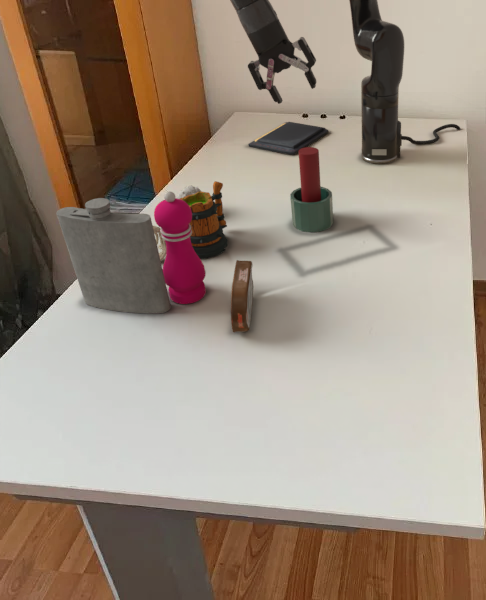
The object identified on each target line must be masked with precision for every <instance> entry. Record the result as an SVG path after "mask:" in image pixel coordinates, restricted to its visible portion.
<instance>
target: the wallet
mask: <svg viewBox="0 0 486 600" xmlns="http://www.w3.org/2000/svg"><path fill="white" fill-rule="evenodd" d="M328 133H330V131H329V129H327V128H326V127H323V126H318V125H311V124H305V123H300V122H295V121H286V122H283V123H282V124H280V125H278V126H277V127H275V128H273V129H271V130H270V131H268V132H266V133H264V134H263V135H261V136H259V137H258V138H256V139H254V140H253V141H251V142H249V143H248V147H249V148H250V147H251V148H255V149H257V150H258V149H259V150H264V151H269V152H274V153H279V154H284V155H287V156H288V155H290V156H295V155H297V154H299V150H300V149H301V148H305V147H310V146H311V145H313V144H314V143H315V142H317V141H318V140H321V138H323V137H324V136H326V135H327V134H328Z"/></svg>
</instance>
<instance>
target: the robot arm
mask: <svg viewBox="0 0 486 600" xmlns="http://www.w3.org/2000/svg"><path fill="white" fill-rule="evenodd" d="M348 1H349V8H350V16H351V25H352V34H353V36H352V37H353V42H354V46H355V49H356V51H357V53H358V54H359V55H360V57H362V58H363V59H365V60H368V61H370V62H371V71H370V75H367V76H365V77H363V79H362V80H361V84H360V85H361V86H360V87H361V88H360V89H361V91H360V93H361V95H360V97H361V100H360V102H361V160H362V161H364V162H365V163H366V162H367V163H369V164H375V165H385V164H390V163H393V162H395V161H396V160H397V159H401V148H402V141H408V142H410V143H411V145H420V146H421V145H430V144H435V143H437V142H439V140H440V135H439V134H438V133H439V132H441V131H442V130H445V129H449V128H453V129H456V130H457V131H461V130H462V128H461V127H460V126H459V125H458V124H455V123H447V124H444V125H441V126H438V127H437V128H435V129H434V130H433V131H432V136H434V138H432V139H429V140H415V139H413V138H412V137H411V136H406V135H403V134H402V122H401V121H400V120H399V99H400V98H399V95H400V93H399V92H400V84H401V81H402V79H403V74H404V60H405V37H404V33H403V31H402V29H401V28H400V27H399V25H397V24H394V23H393V22H388V21H386V20H385V21H384V20H383V19H382V17H381V13H380V8H379V3H378V0H348ZM230 3H231V4H232V6H233V8H234V10H235V12H236V14H237V17H238V21H239V22H240V24H241V26H242V28H243V30H244V32H245V34H246V36H247V38H248V40H249V42H250V43H251V45H252V47H253V49H254V52H255V53H256V55H257V58H258V59H256V60H251V61H250V62H249V63H248V64H247V69H248V71H249V73H250V75H251V77H252V79H253V81H254V83H255V86H256V88H257V90H259V91H262V90H267V91H268V93H269V94H270V96H271V99H272V101H274V102H275V103H277V104H279V105H280V104H282V103H283V98H282V96H281V94H280V92H279V90H278V88H277V86H276V85H274V83H275V75H276V74H279V73H281V72H282V71H285V70H288V69H290V68H291V67H294V68H296V69H299V70H301V71H303V72H304V76H305V78H306V80H307V83H308V84H309V86H310V89H311V90H314V89H315V88H316V86H317V77H316V76H315V74H314V72H313V69H312V68H313V67H314V66H315V64H316V62H317V58H316V57H315V55H314V53H313V51H312V49H311V48H310V46H309V44H308V42H307V40H306V39H305V37H304V36H300V37H299V38H298V40H295V41H293V42H292V41H290V39H289V37H288V35H287V33H286V32H285V31H286V30H285V29H284V27H283V25H282V23H281V21H280V19H279V17H278V14H277V12H276V10H275V8H274V6H273V5H272V3H271V1H270V0H230ZM295 49H297V50H298V51H302V53H303V55H304V57H305V59H306V60H307V62H306V61H305V60H303V59H302V58H300V57H299V56H297V55H295ZM260 66H262V67H264V68H265V69H266V71H267V72H266V81H265V80H264V79H263V77H262V75H261V72H260V69H261V67H260Z"/></svg>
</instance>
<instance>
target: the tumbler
mask: <svg viewBox="0 0 486 600" xmlns="http://www.w3.org/2000/svg"><path fill="white" fill-rule="evenodd" d="M289 197H290V208H291V221H292V226H293V227H294V229H295V230H298V231H299V232H304V233H319V232H323V231H326V230H328V229H330V228H332V226H333V224H334V207H333V206H334V205H333V192H332V191H331V190H330V189H329V188H326V187H324V186H321V201H318V202H309V203H308V202H302V194H301V187H297V188H296V189H294V190H292V191H291V193H290V195H289Z"/></svg>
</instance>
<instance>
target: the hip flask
mask: <svg viewBox="0 0 486 600" xmlns="http://www.w3.org/2000/svg"><path fill="white" fill-rule="evenodd" d="M84 207H85V208H80V207H75V206H66V207H62V208H60V209H58V210H57V211H56V213H55V214H56V217H57V220H58V223H59V226H60V229H61V233H62V236H63V239H64V242H65V245H66V248H67V251H68V254H69V257H70V261H71V263H72V267H73V269H74V274H75V275H76V279H77V282H78V285H79V289H80V292H81V294H82V297H83V301H84V303H85V305H87V306H90V307H94V308H99V309H103V310H107V311H108V310H109V311H115V312H121V313H122V312H123V313H132V314H165V313H167V312H168V311H170V310H171V308H172V307H171V306H172V305H171V302H170V295H169V291H168V287H167V284H166V283H165V279H164V274H163V265H162V260H161V261H160V256H159V253H160V251H159V248H158V244H157V243H156V236H155V234H154V230H153V226H154V225H153V221H152V217H151V214H148V213H127V212H126V213H125V212H124V213H123V212H112V211H111V209H110V207H111V202H110V200H109V199H108V198H103V197H98V198H93V199H90V200H88V201H86V202H85V204H84ZM152 225H153V226H152Z"/></svg>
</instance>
